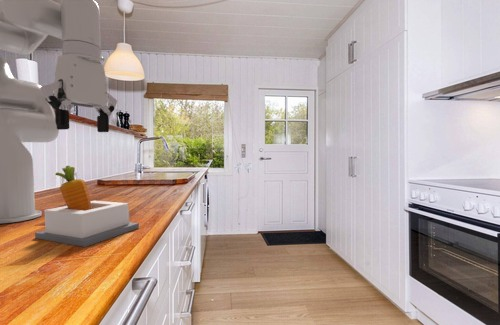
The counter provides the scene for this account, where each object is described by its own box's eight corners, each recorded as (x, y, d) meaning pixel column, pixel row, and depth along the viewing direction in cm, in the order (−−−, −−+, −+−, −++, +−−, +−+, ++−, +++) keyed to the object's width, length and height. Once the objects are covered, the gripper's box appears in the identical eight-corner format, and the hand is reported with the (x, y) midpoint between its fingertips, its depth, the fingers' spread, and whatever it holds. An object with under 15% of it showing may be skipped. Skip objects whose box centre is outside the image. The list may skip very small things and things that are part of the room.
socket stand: (35, 238, 60) (33, 210, 60) (93, 222, 73) (92, 199, 73) (84, 247, 54) (83, 215, 53) (138, 228, 67) (138, 203, 66)
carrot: (89, 229, 60) (66, 164, 59) (70, 234, 61) (47, 170, 59) (103, 221, 65) (83, 161, 64) (85, 226, 66) (65, 166, 64)
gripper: (104, 67, 71) (105, 133, 72) (28, 44, 55) (32, 128, 56) (125, 64, 68) (126, 132, 69) (52, 38, 52) (55, 127, 53)
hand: (84, 130), depth 62 cm, fingers open, 9 cm apart
